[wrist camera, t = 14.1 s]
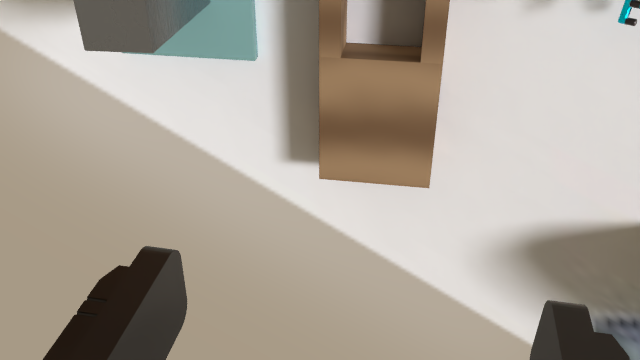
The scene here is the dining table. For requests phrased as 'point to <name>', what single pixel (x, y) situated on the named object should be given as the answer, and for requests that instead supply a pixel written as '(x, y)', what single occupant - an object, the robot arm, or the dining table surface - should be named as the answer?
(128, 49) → the steel plug
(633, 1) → the stick construction toy
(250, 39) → the teal pad
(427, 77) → the brown slotted block
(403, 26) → the dining table surface
